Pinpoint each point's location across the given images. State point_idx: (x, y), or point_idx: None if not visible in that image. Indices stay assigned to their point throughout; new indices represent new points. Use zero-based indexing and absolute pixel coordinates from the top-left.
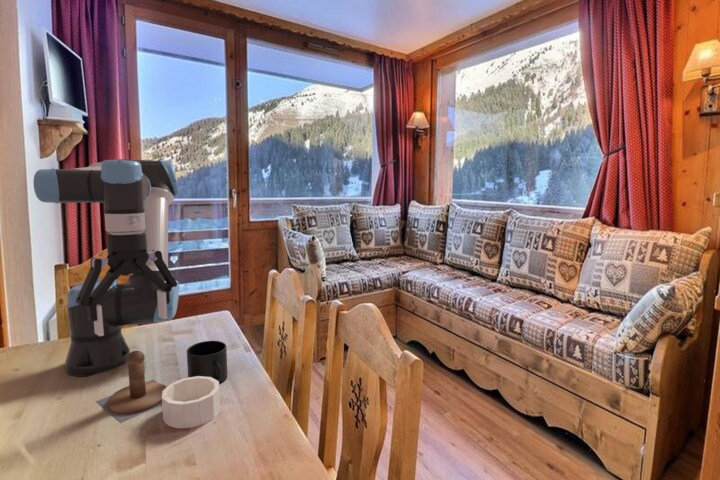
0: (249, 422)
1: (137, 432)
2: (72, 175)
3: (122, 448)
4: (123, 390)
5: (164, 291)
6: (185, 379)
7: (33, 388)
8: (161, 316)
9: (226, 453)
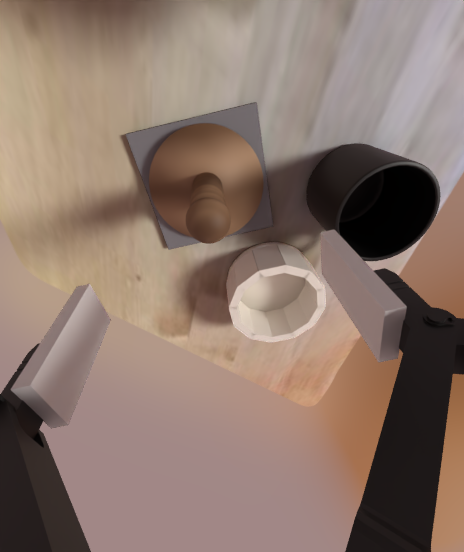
0: (315, 332)
1: (189, 278)
2: None
3: (167, 300)
4: (182, 142)
5: (400, 347)
6: (286, 270)
7: None
8: (324, 258)
9: (265, 361)
